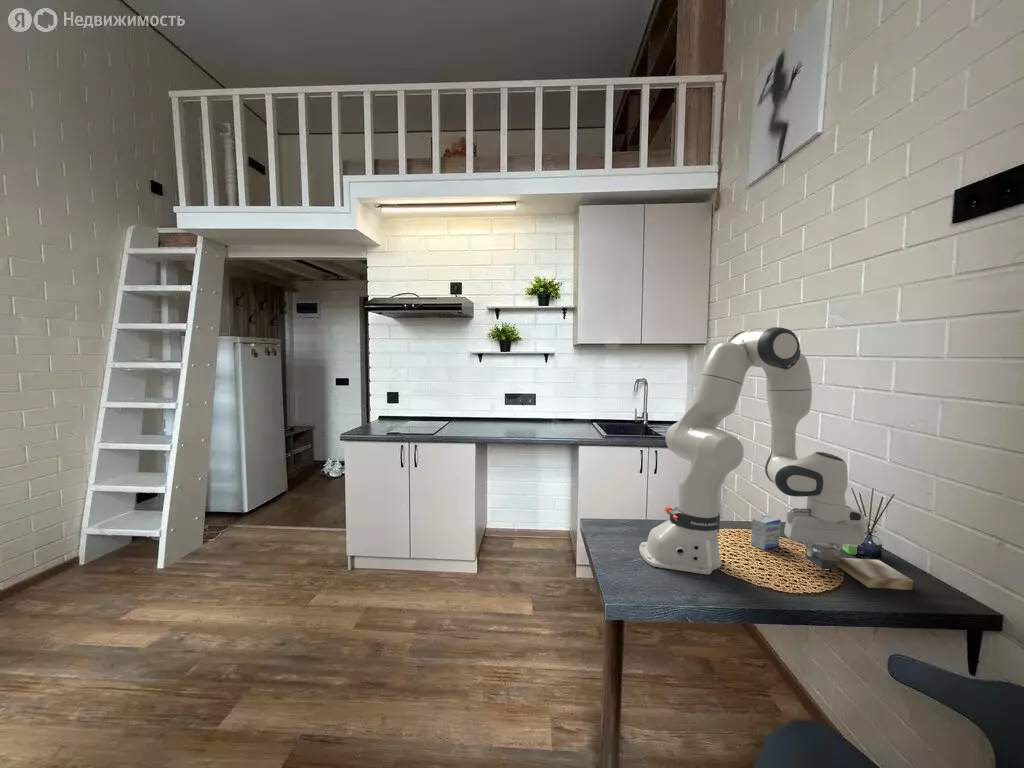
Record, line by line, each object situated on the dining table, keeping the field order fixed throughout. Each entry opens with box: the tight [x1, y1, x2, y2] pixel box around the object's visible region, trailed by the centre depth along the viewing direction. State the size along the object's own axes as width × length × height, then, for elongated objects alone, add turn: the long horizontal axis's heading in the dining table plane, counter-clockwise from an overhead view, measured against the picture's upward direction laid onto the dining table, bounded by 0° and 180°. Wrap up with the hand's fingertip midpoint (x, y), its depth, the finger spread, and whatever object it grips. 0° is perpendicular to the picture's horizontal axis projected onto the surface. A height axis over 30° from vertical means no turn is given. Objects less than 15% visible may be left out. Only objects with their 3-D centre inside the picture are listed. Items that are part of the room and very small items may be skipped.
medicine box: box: [750, 515, 782, 551], centre depth 133 cm, size 8×4×9 cm, turn 117°
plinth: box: [838, 557, 914, 591], centre depth 115 cm, size 11×11×3 cm
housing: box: [805, 542, 841, 571], centre depth 122 cm, size 4×7×6 cm, turn 176°
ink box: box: [841, 516, 869, 556], centre depth 133 cm, size 9×5×12 cm, turn 171°
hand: (821, 556), depth 122 cm, fingers closed on housing, 4 cm apart
